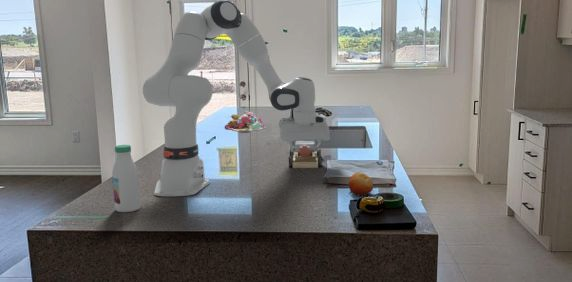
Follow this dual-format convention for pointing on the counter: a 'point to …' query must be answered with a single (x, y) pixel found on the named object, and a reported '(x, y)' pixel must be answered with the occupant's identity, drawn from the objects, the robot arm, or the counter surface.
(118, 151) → the milk bottle
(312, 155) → the chassis
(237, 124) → the candy plate
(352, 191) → the fruit
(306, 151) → the block
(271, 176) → the counter surface
